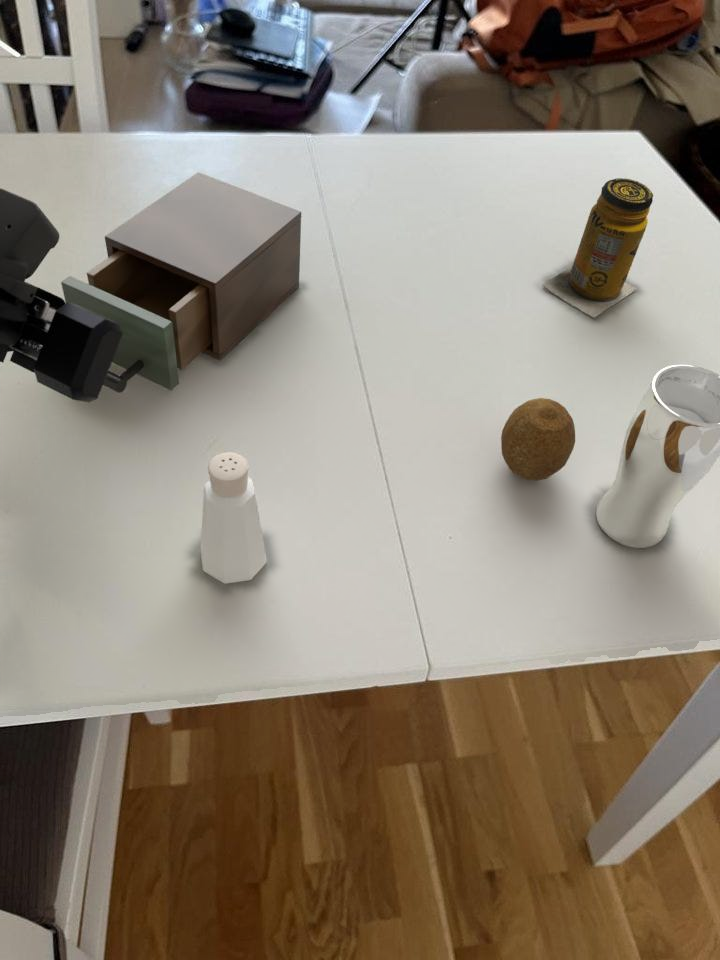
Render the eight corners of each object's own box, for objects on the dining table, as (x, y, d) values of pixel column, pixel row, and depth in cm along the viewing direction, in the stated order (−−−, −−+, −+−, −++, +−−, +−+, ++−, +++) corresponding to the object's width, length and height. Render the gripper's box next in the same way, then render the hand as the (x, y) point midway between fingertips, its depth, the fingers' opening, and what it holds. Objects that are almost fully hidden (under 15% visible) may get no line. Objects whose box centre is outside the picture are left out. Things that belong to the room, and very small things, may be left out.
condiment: (636, 290, 94) (674, 193, 85) (593, 319, 90) (629, 221, 81) (584, 260, 98) (616, 164, 89) (540, 287, 93) (569, 189, 84)
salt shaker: (258, 591, 64) (256, 501, 56) (190, 578, 64) (178, 487, 56) (274, 536, 68) (275, 443, 59) (210, 524, 68) (201, 430, 60)
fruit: (519, 506, 72) (542, 442, 66) (479, 457, 75) (497, 393, 69) (575, 483, 74) (602, 420, 68) (533, 437, 78) (556, 373, 72)
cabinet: (220, 361, 81) (215, 283, 74) (117, 314, 84) (104, 236, 77) (299, 287, 90) (301, 211, 83) (203, 247, 93) (198, 171, 86)
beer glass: (677, 507, 73) (751, 382, 62) (662, 565, 69) (738, 441, 58) (601, 479, 75) (659, 351, 63) (581, 533, 70) (640, 406, 59)
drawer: (143, 416, 74) (133, 354, 69) (45, 368, 77) (27, 304, 72) (254, 315, 85) (252, 254, 79) (163, 276, 88) (156, 214, 82)
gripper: (81, 227, 51) (200, 285, 66) (-135, 135, 56) (21, 208, 71) (17, 393, 53) (148, 413, 68) (-188, 289, 58) (-24, 329, 72)
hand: (72, 336), depth 70 cm, fingers closed
